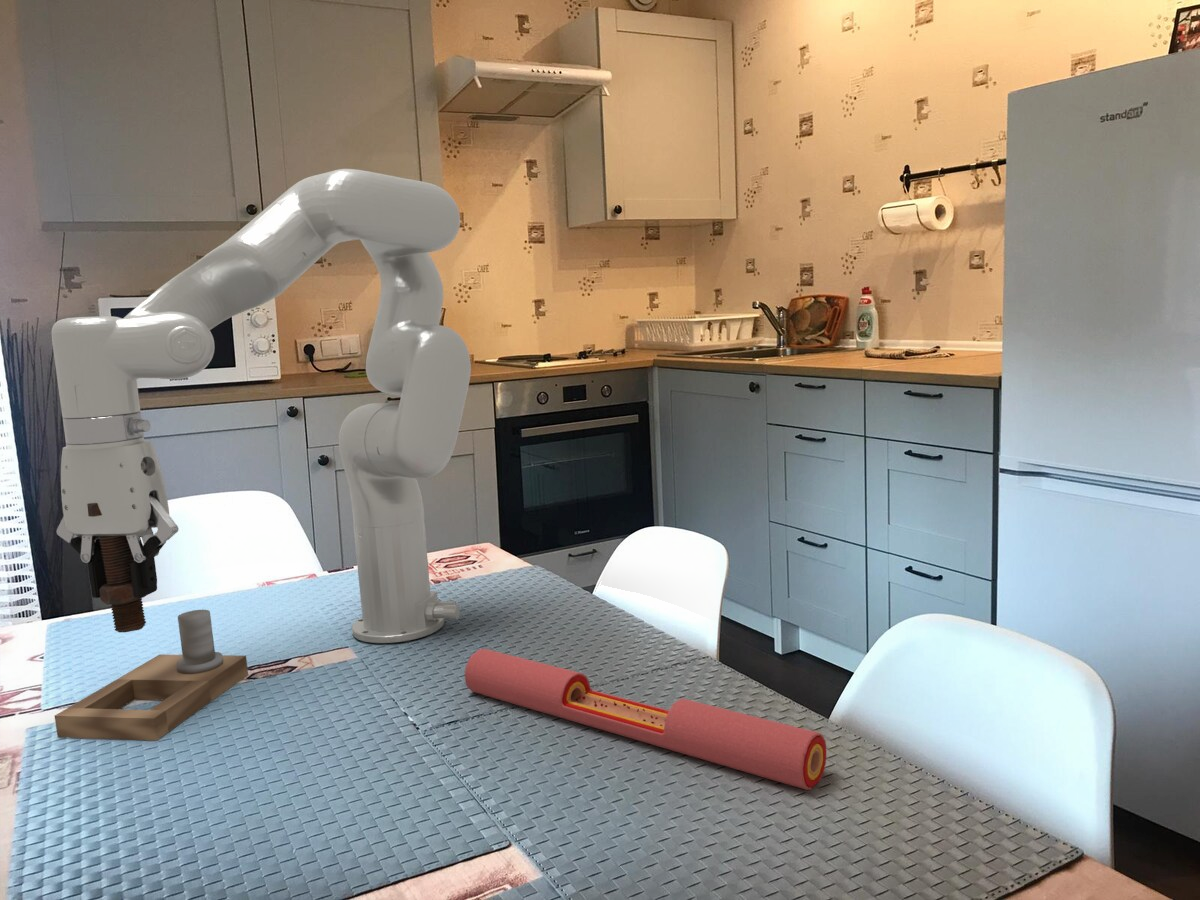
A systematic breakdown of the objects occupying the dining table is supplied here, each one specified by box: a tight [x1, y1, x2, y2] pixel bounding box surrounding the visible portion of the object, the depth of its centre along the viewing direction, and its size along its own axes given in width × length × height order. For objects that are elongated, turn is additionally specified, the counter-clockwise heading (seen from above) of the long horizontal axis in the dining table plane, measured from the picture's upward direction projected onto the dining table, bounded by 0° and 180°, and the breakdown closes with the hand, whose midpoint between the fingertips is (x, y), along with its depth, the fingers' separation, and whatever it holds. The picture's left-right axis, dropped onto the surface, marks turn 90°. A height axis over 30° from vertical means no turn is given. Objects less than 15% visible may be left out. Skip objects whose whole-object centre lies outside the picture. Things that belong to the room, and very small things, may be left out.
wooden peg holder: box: [54, 609, 249, 742], centre depth 109 cm, size 12×18×9 cm, turn 170°
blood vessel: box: [464, 648, 827, 791], centre depth 96 cm, size 42×5×5 cm, turn 52°
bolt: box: [87, 503, 147, 633], centre depth 104 cm, size 6×5×15 cm
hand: (125, 592), depth 105 cm, fingers closed on bolt, 4 cm apart
